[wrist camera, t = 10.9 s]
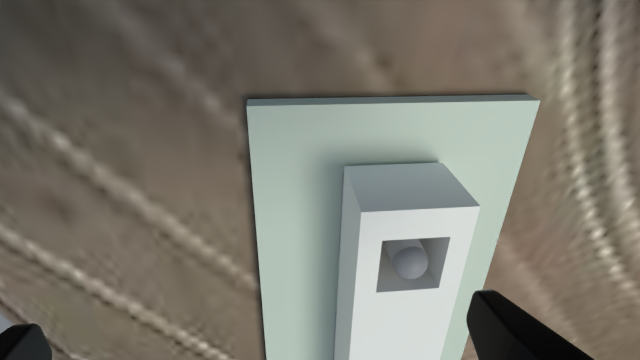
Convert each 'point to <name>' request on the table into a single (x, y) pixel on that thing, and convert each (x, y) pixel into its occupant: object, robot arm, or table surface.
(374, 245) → the power strip bar
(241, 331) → the table surface
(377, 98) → the post board
